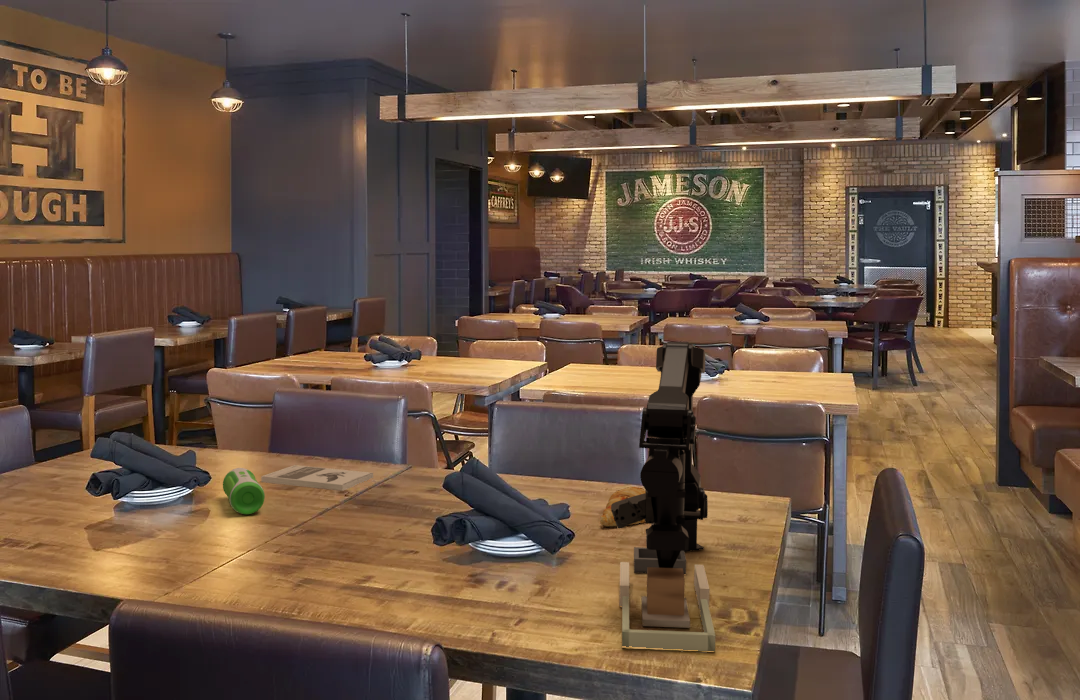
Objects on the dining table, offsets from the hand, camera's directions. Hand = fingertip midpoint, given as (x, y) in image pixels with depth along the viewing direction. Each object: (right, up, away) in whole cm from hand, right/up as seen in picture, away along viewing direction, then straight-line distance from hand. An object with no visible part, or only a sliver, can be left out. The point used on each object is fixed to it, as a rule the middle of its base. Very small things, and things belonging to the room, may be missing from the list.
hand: (664, 578), depth 154 cm
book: (-74, +3, +86) cm, 113 cm away
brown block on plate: (0, -5, -4) cm, 6 cm away
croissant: (-1, 0, +53) cm, 53 cm away
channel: (0, -4, +5) cm, 6 cm away
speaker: (-85, +1, +60) cm, 104 cm away
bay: (-1, -6, -10) cm, 11 cm away
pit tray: (+2, -3, +20) cm, 20 cm away
